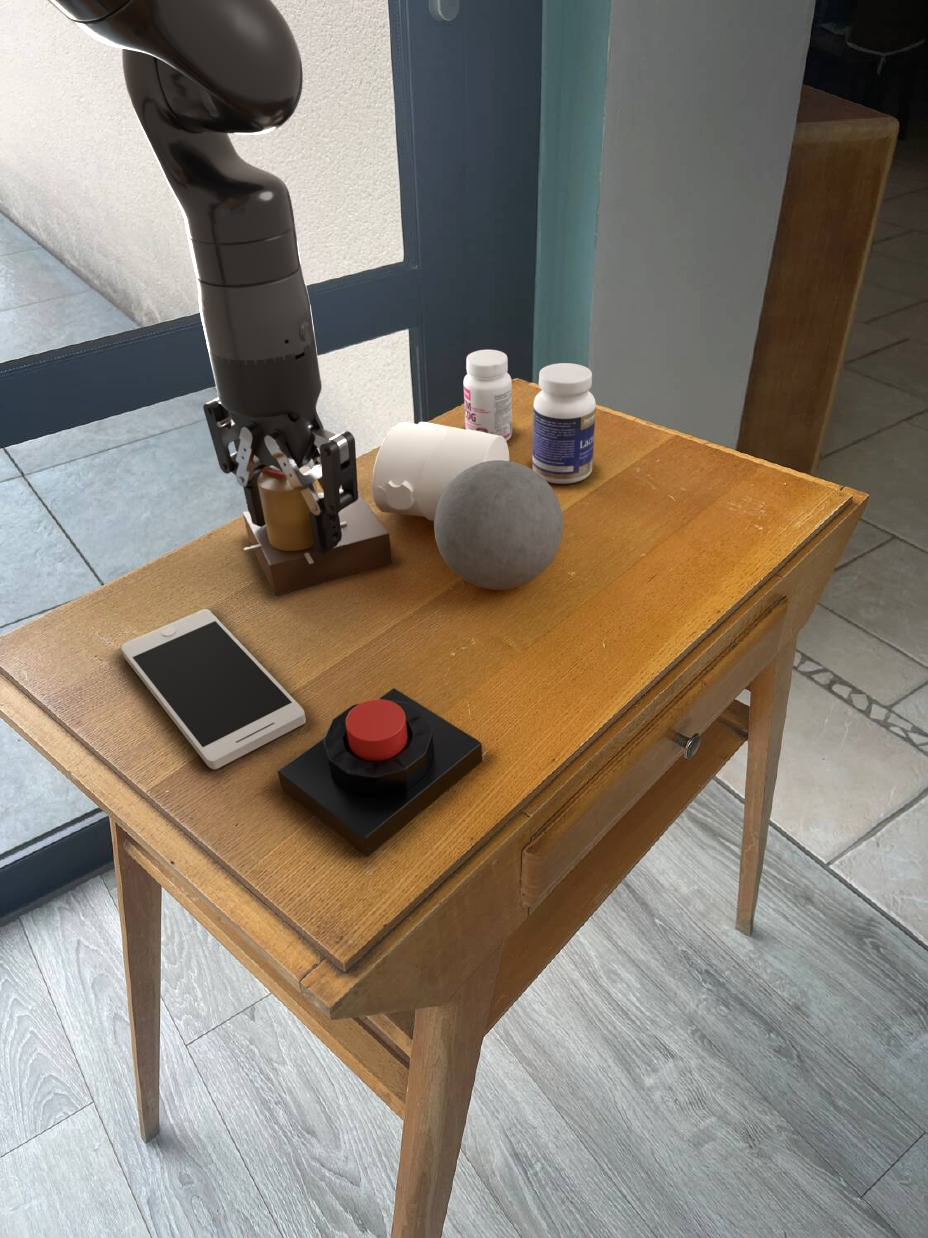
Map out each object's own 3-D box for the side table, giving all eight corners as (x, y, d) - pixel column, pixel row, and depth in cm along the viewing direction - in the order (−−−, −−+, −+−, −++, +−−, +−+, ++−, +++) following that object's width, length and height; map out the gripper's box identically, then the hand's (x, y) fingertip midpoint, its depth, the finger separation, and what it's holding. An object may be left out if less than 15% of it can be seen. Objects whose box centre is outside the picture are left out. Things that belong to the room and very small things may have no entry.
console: (264, 609, 74) (257, 576, 72) (234, 545, 81) (227, 514, 79) (398, 571, 77) (394, 539, 75) (357, 513, 84) (353, 482, 83)
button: (376, 770, 55) (373, 750, 54) (336, 742, 57) (333, 721, 56) (419, 737, 57) (417, 716, 56) (379, 711, 59) (376, 690, 58)
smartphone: (209, 615, 73) (206, 606, 72) (309, 722, 63) (306, 711, 62) (121, 654, 70) (117, 644, 69) (212, 772, 60) (209, 762, 59)
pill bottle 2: (591, 487, 86) (597, 386, 80) (530, 485, 87) (530, 384, 81) (592, 457, 91) (597, 359, 85) (534, 456, 92) (535, 358, 86)
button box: (367, 857, 54) (361, 818, 52) (281, 789, 59) (272, 750, 56) (482, 761, 60) (481, 722, 58) (396, 705, 64) (391, 667, 62)
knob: (334, 530, 77) (324, 467, 73) (299, 557, 74) (288, 493, 70) (292, 517, 79) (281, 455, 75) (257, 542, 76) (244, 479, 72)
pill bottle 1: (455, 437, 95) (452, 358, 90) (486, 421, 98) (484, 343, 93) (490, 451, 93) (489, 370, 88) (521, 434, 96) (521, 354, 90)
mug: (476, 550, 79) (473, 466, 74) (376, 532, 82) (367, 450, 77) (521, 483, 88) (521, 403, 83) (429, 468, 91) (424, 391, 86)
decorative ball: (563, 615, 71) (567, 502, 65) (433, 615, 72) (425, 503, 66) (559, 543, 79) (562, 436, 73) (442, 544, 80) (435, 438, 74)
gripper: (152, 332, 67) (202, 529, 77) (295, 375, 60) (329, 585, 70) (230, 301, 72) (267, 491, 82) (372, 337, 65) (393, 539, 75)
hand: (296, 534), depth 76 cm, fingers open, 6 cm apart
